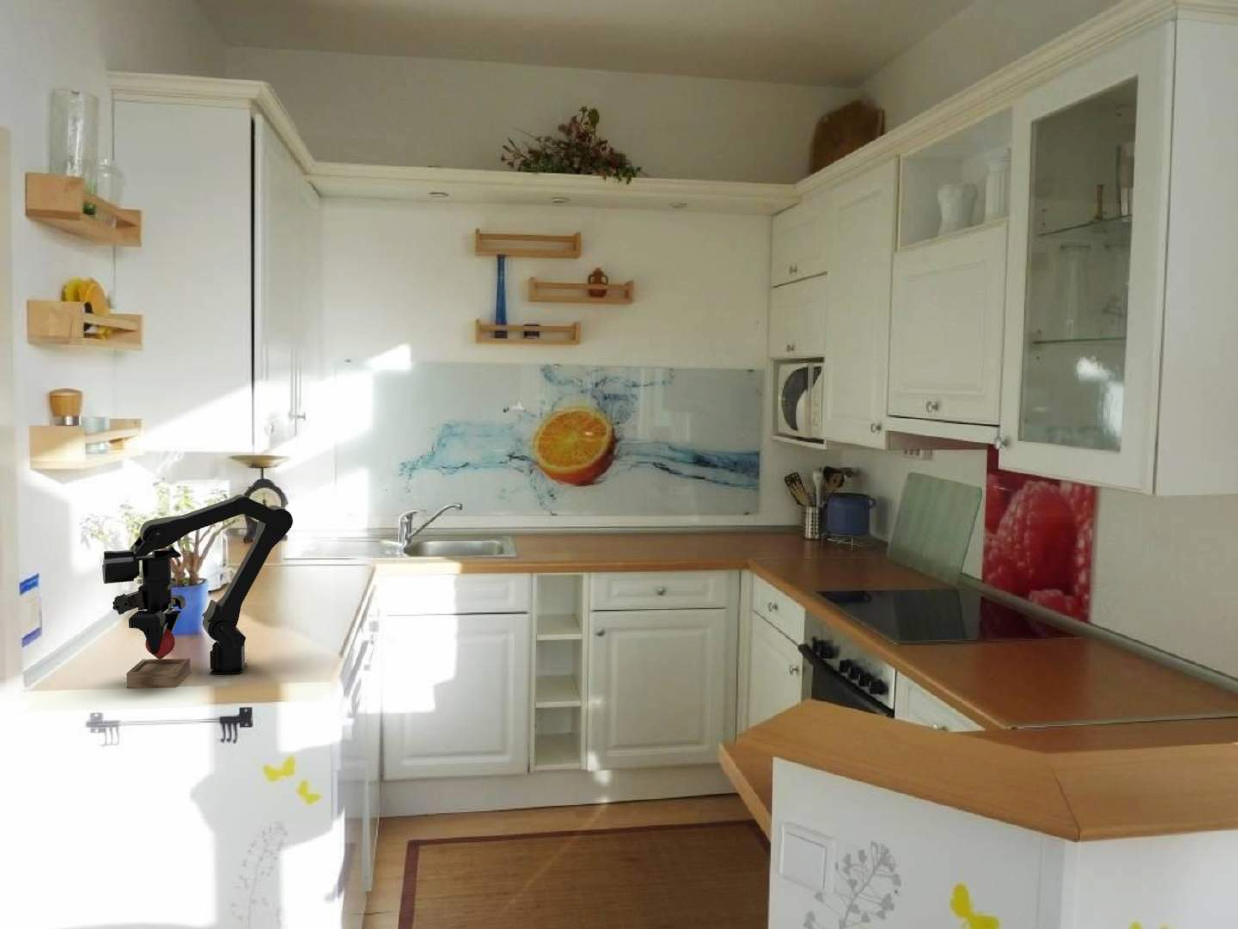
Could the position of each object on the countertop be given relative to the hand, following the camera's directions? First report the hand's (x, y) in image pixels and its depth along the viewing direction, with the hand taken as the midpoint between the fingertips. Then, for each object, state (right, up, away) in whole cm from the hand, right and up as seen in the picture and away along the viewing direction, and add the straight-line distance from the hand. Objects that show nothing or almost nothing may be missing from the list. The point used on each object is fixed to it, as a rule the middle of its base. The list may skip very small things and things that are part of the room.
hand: (159, 649), depth 213 cm
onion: (0, -2, 0) cm, 2 cm away
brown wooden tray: (0, -7, +1) cm, 7 cm away
